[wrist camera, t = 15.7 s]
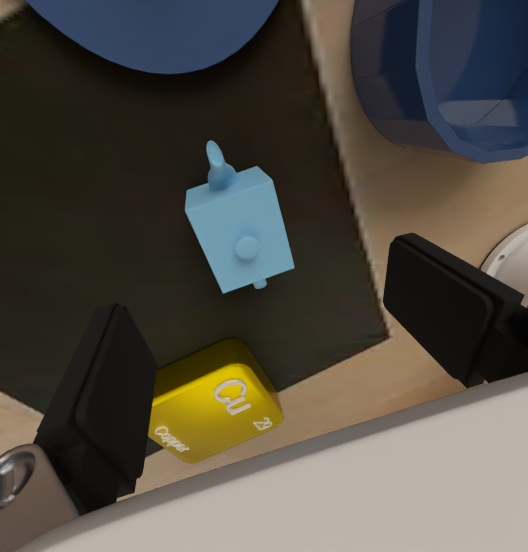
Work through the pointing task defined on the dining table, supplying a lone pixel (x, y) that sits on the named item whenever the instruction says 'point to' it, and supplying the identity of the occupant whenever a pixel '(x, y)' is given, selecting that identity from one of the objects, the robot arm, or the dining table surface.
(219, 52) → the lid
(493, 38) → the pot
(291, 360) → the dining table surface
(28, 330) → the dining table surface
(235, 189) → the teapot
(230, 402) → the element tile
